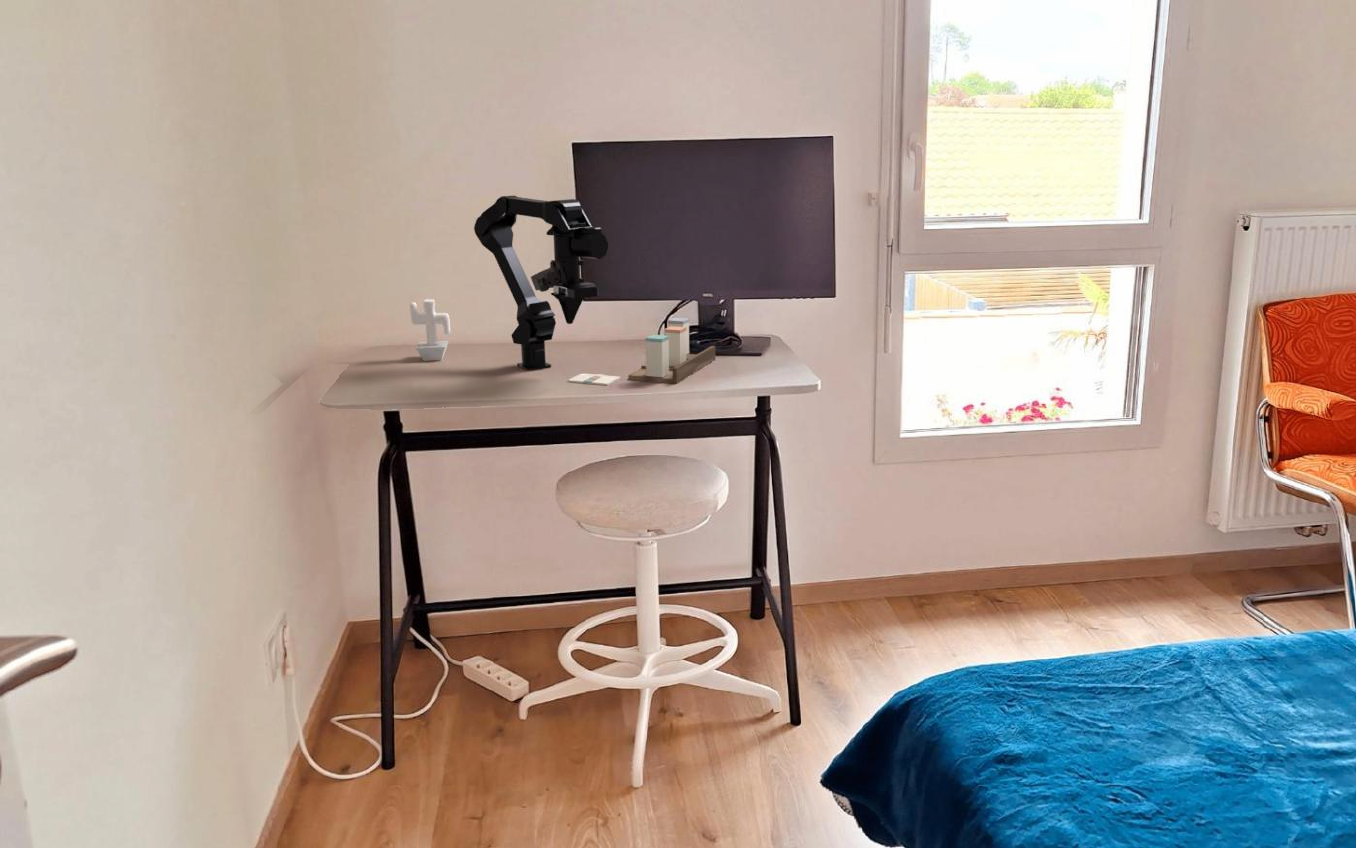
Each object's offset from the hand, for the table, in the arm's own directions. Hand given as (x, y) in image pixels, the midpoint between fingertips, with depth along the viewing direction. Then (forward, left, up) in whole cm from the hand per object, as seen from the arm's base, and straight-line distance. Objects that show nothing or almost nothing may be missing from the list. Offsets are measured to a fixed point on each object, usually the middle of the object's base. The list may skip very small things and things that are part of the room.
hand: (569, 323), depth 228 cm
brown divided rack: (+10, +22, -12) cm, 27 cm away
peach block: (+10, +23, -11) cm, 27 cm away
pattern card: (+8, +2, -12) cm, 15 cm away
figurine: (-35, -21, -12) cm, 43 cm away
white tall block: (+16, +14, -11) cm, 24 cm away
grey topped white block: (+1, +30, -11) cm, 32 cm away
